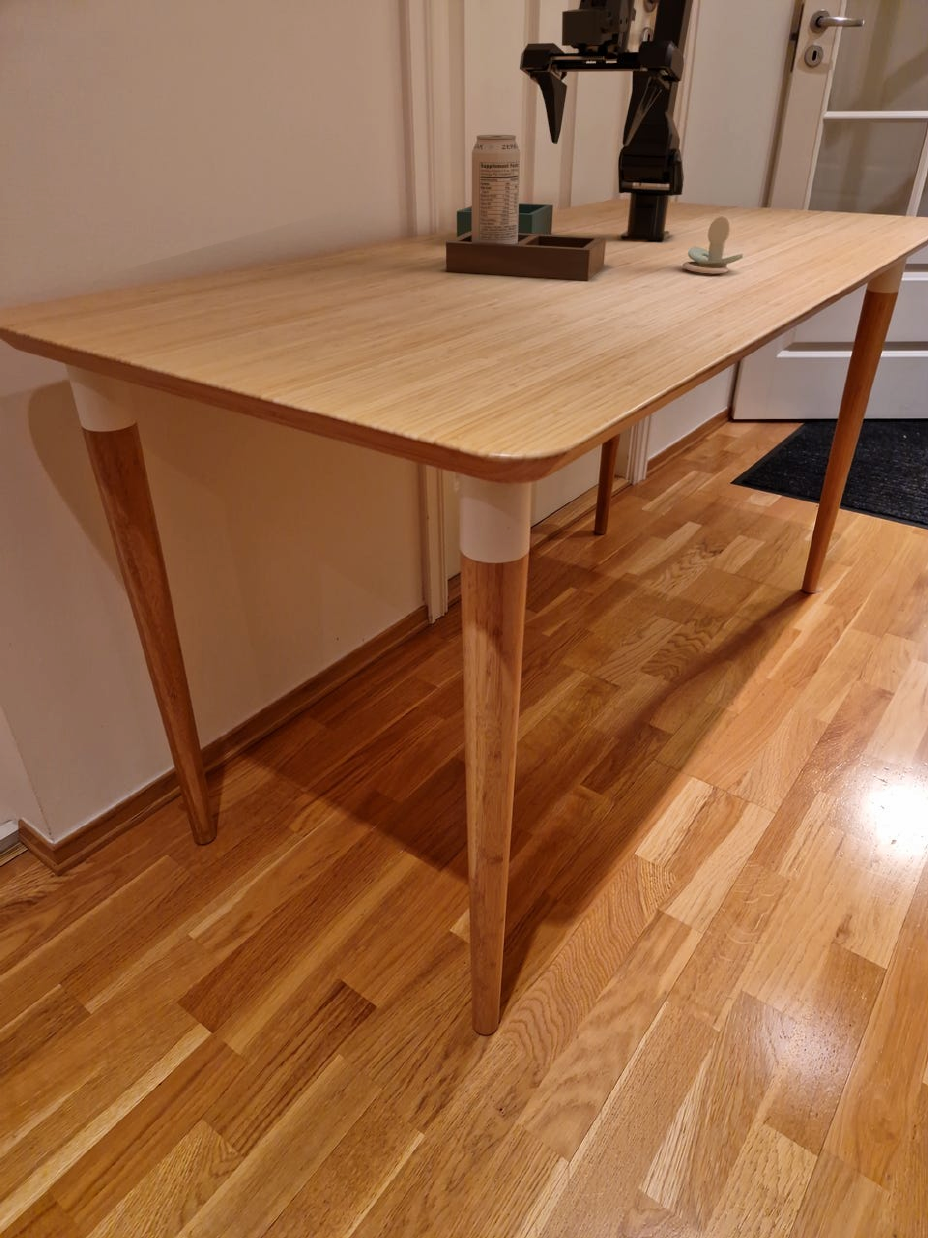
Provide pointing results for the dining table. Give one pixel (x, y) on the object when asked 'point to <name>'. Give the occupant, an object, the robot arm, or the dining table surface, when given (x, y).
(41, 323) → the dining table surface
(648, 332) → the dining table surface
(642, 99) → the robot arm
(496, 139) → the energy drink can
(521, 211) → the green square tray
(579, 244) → the brown divided tray
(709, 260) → the pacifier
